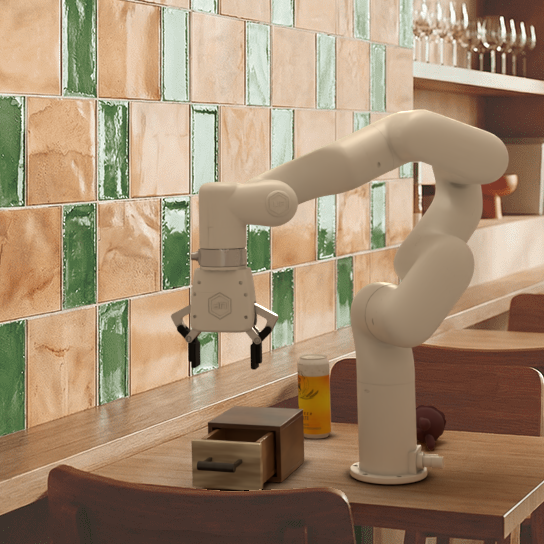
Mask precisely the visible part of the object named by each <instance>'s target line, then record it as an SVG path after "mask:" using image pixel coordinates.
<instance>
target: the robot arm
mask: <svg viewBox="0 0 544 544" xmlns="http://www.w3.org/2000/svg"><path fill="white" fill-rule="evenodd" d="M418 162H421V163H424V164H427V165H428V166H431V169H432V173H433V177H434V181H435V193H434V197H433V199H432V202H431V203H430V205H429V207H428V208H427V209H426V211H425V213H424V214H423V215H422V217H421V218H420V219H419V221H417V222H416V224H415V226H413V228H412V230H411V231H410V232H409V233H408V235H406V237H405V239H404V240H403V241H402V242H401V244H399V247H398V248H397V250H396V252H395V254H394V257H393V269H394V272H395V275H396V276H397V277H398V279H400V280H401V281H400V283H399V284H396V283H393V282H392V283H391V282H387V281H385V282H384V281H377V282H375V281H374V282H371V283H368V284H366V285H363V286H362V287H361V288H360V289H359V290H358V292H357V293H356V294H355V295H354V297H353V299H352V302H351V305H350V311H349V313H350V315H349V316H350V317H349V319H350V327H351V332H352V338H353V343H354V350H355V351H354V352H355V366H356V367H355V368H356V397H357V398H356V402H357V405H356V406H357V407H356V409H357V438H358V441H357V442H358V461H356V462H354V463H352V464H351V465H350V467H349V475H350V476H351V477H352V478H353V479H356V480H358V481H361V482H364V483H369V484H376V485H404V484H411V483H415V482H419V481H422V480H424V479H425V478H427V477H428V468H432V469H437V470H444V468H445V457H444V456H440V455H439V454H438V453H436V454H435V453H430V454H429V453H425V452H424V451H422V445H421V444H418V440H417V434H416V408H417V406H416V404H417V403H416V401H417V400H416V370H415V359H414V352H413V348H415V347H416V348H417V347H418V346H421V345H422V344H425V343H426V342H427V341H428V340H429V339H430V338H431V337H432V336H433V335H434V334H435V332H437V330H438V329H439V328H440V326H441V324H442V323H443V322H444V321H445V319H446V318H447V317H448V315H449V314H450V312H451V311H452V310H453V309H454V307H455V306H456V304H457V303H458V302H459V300H460V299H461V297H462V296H463V295H464V293H465V292H466V290H467V289H468V288H469V286H470V284H471V282H472V279H473V276H474V274H475V273H474V272H475V259H474V258H475V257H474V254H473V251H472V249H471V247H470V246H469V245H468V242H469V241H470V239H471V237H472V236H473V235H474V233H475V232H476V230H477V228H478V226H479V224H480V222H481V219H482V215H483V211H484V210H483V209H484V208H483V205H484V204H483V203H484V202H483V201H484V200H483V199H484V198H483V190H482V185H489V184H492V183H494V182H496V181H498V180H499V179H500V178H502V176H504V174H506V171H507V169H508V166H509V162H510V157H509V152H508V148H507V146H506V145H505V143H504V142H503V140H501V138H499V137H498V136H496V134H493V133H491V132H489V131H487V130H485V129H481V128H478V127H476V126H473V125H470V124H467V123H465V122H462V121H460V120H456V119H454V118H452V117H448V116H446V115H443V114H441V113H437V112H434V111H431V110H427V109H412V110H404V111H397V112H394V113H391V114H389V115H387V116H384V117H382V118H379V119H378V120H376V121H374V122H371V123H369V124H367V125H365V126H364V127H361V128H359V129H357V130H355V131H353V132H351V133H349V134H347V135H345V136H342V137H341V138H338V139H336V140H333V141H332V142H330V143H327V144H325V145H323V146H321V147H318V148H315V149H314V150H311V151H310V152H307V153H305V154H303V155H300V156H298V157H296V158H294V159H290V160H289V161H286V162H284V163H281V164H279V165H277V166H275V167H273V168H271V169H268V170H266V171H264V172H262V173H260V174H258V175H255V176H254V177H252V178H250V179H248V180H247V181H245V182H244V183H241V182H237V181H212V182H205V183H203V184H201V185H200V187H199V189H198V232H199V233H198V241H199V243H198V244H199V247H198V250H197V251H192V252H191V253H190V260H191V261H192V262H193V261H195V262H197V263H198V266H199V267H196V268H194V270H193V274H192V275H193V276H192V283H191V295H190V304H188V305H186V306H185V307H183V308H181V309H179V310H177V311H175V312H174V313H172V314H171V315H170V318H171V320H172V322H173V324H174V326H175V327H176V331H177V332H178V333H179V334H180V336H182V338H183V339H184V340H185V342H186V343H187V350H188V351H187V353H188V354H187V359H188V362H189V363H190V367H191V369H197V368H198V367H200V366H201V363H202V362H201V341H200V340H199V336H200V335H202V333H228V334H229V333H232V334H233V333H234V334H235V333H237V334H240V333H246V335H247V336H248V337H249V338H250V340H252V341H251V344H250V346H249V347H250V348H249V350H250V352H249V353H250V357H249V358H250V370H252V371H254V370H257V369H258V368H260V364H262V363H263V342H264V341H265V340H266V338H267V337H269V335H271V333H272V332H273V330H274V328H275V326H276V324H277V322H278V320H279V317H280V316H279V314H277V313H275V312H274V311H271V310H270V309H268V308H266V307H265V306H262V305H260V304H259V303H257V295H256V289H255V287H256V286H255V281H254V276H253V271H252V268H251V267H249V266H248V253H247V252H248V249H247V225H248V226H261V227H268V228H275V227H280V226H283V225H285V224H288V222H290V221H291V220H292V219H293V218H294V216H295V215H296V213H297V210H298V206H299V205H301V204H304V203H307V202H310V201H313V200H315V199H318V198H323V197H328V196H334V195H341V194H344V193H347V192H349V191H353V190H355V189H358V188H360V187H362V186H363V185H366V184H368V183H370V182H371V181H374V180H376V179H377V178H379V177H381V176H383V175H385V174H387V173H390V172H392V171H394V170H397V169H398V168H400V167H402V166H404V165H406V164H409V163H418ZM187 315H189V320H190V321H189V322H190V327H191V329H190V328H189V326H187V324H185V321H184V318H185V317H186V316H187ZM258 316H259V317H262V318H264V319H265V320H266V324H265V325H264V328H263V329H261V330H260V329H259V327H257V323H258Z"/></svg>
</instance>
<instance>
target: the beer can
mask: <svg viewBox="0 0 544 544" xmlns="http://www.w3.org/2000/svg"><path fill="white" fill-rule="evenodd" d="M296 367H297V369H296V371H297V401H298V403H297V406H298V409H303V429H304V438H306V439H324V438H327V437H329V435H330V434H331V433H332V409H331V407H332V405H331V404H332V403H331V375H330V374H331V373H330V360H329V359H328V355H327V354H321V353H307V354H301V355H299V356H298V360H297V362H296Z"/></svg>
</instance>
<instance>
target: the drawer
mask: <svg viewBox="0 0 544 544" xmlns="http://www.w3.org/2000/svg"><path fill="white" fill-rule="evenodd" d="M276 472H277V461H276V431H268V430H251V429H233V428H217V429H215V430H214V431H212V432H210V433H209V434H208V433H207V434H205V435H204V436H202V437H201V438H193V439H192V440H191V473H192V476H191V477H192V480H191V481H192V487H195V488H205V489H208V488H209V489H219V490H220V489H221V490H232V491H233V490H234V491H244V490H259V489H263V490H264V484H265V483H266V482H268V481H267V480H268V479H269V478H270V477H271V476H273V475H274V474H275V473H276Z"/></svg>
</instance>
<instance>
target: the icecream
mask: <svg viewBox="0 0 544 544" xmlns="http://www.w3.org/2000/svg"><path fill="white" fill-rule="evenodd" d="M446 424H447V420H446V416H445V413H444V412H443V411H441V410H440V409H438V408H437V407H435V406H433V405H424V404H420V405H418V406H416V434H417V442H421V443H423V444H425V446H426V448H427V450H429V451H433V450H434V449H435V447H436V441H438V439H440V437H441V436H442V435H443V434H444V431H445V427H446Z"/></svg>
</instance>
